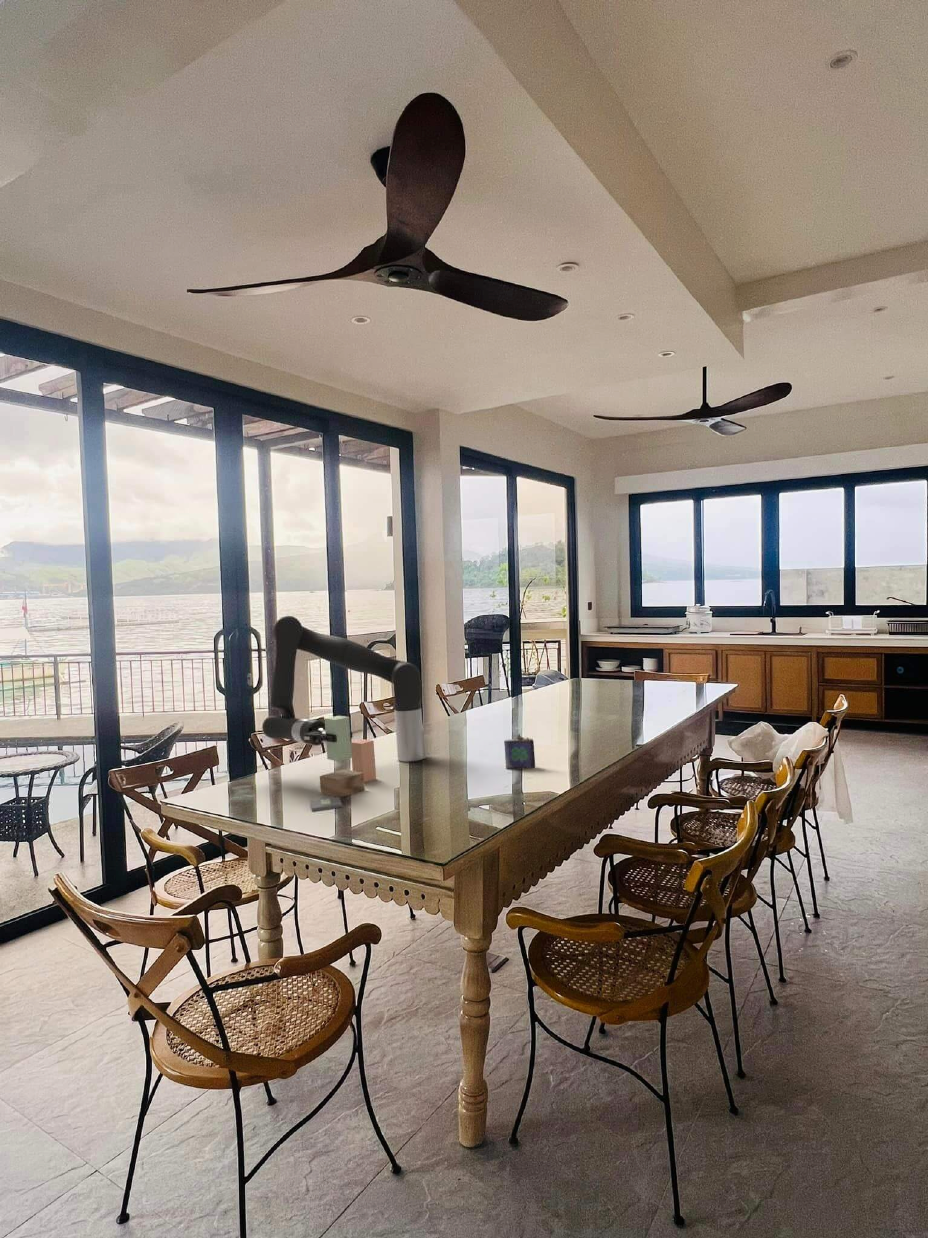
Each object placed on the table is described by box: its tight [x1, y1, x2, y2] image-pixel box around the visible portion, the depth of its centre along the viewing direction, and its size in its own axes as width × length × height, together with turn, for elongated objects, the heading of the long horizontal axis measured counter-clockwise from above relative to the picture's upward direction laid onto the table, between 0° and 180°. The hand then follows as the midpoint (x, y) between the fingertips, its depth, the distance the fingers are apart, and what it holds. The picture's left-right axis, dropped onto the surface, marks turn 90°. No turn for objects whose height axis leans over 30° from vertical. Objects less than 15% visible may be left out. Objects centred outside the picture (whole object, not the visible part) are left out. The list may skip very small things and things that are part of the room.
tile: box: [309, 796, 343, 812], centre depth 196 cm, size 8×8×1 cm
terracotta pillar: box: [351, 738, 377, 784], centre depth 221 cm, size 5×5×12 cm
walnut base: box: [319, 769, 365, 798], centre depth 209 cm, size 9×9×5 cm
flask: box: [503, 732, 536, 770], centre depth 222 cm, size 9×3×11 cm, turn 79°
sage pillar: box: [324, 715, 352, 762], centre depth 208 cm, size 5×5×12 cm
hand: (343, 736), depth 207 cm, fingers closed on sage pillar, 5 cm apart
